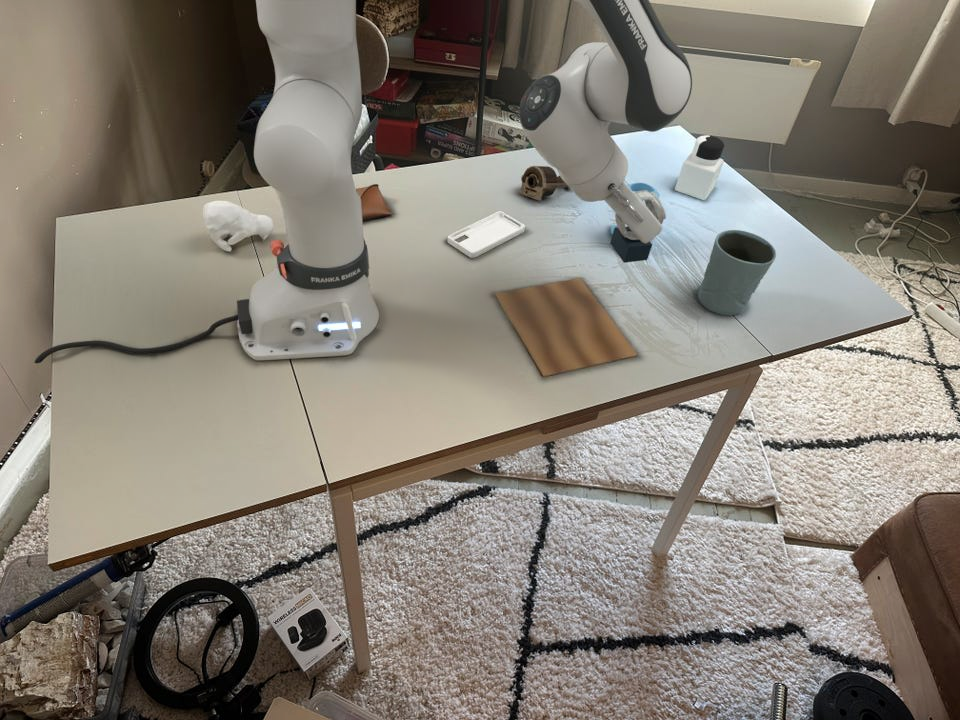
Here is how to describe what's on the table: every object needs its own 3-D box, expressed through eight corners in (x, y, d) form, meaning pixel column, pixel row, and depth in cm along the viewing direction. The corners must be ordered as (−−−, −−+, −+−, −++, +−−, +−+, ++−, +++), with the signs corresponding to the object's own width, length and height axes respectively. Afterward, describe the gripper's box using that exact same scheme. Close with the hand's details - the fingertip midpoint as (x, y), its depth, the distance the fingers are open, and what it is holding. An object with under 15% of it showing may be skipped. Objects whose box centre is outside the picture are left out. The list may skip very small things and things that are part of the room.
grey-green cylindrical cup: (683, 288, 119) (704, 233, 110) (728, 279, 122) (751, 225, 113) (715, 323, 112) (740, 267, 104) (762, 312, 115) (789, 258, 107)
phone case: (472, 259, 121) (525, 231, 129) (472, 253, 120) (526, 225, 128) (446, 241, 124) (499, 215, 132) (446, 236, 123) (500, 210, 131)
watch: (657, 258, 107) (677, 201, 99) (614, 263, 105) (631, 205, 97) (642, 239, 111) (660, 182, 103) (600, 243, 109) (615, 186, 101)
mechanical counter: (512, 160, 138) (528, 173, 130) (567, 150, 140) (586, 163, 132) (514, 192, 142) (530, 207, 134) (567, 182, 145) (586, 196, 136)
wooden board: (543, 377, 100) (543, 375, 100) (495, 295, 114) (495, 293, 113) (637, 356, 105) (637, 354, 105) (580, 279, 118) (580, 278, 118)
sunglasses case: (310, 235, 121) (300, 199, 119) (301, 234, 128) (291, 201, 125) (396, 214, 129) (388, 180, 127) (384, 214, 135) (376, 182, 133)
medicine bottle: (714, 188, 147) (732, 138, 138) (704, 201, 142) (722, 150, 134) (684, 178, 149) (700, 128, 141) (674, 190, 145) (690, 140, 136)
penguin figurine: (198, 195, 114) (268, 190, 118) (205, 236, 119) (271, 230, 124) (203, 213, 110) (275, 208, 114) (209, 255, 115) (277, 248, 120)
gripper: (649, 191, 86) (687, 242, 96) (581, 123, 99) (621, 174, 109) (612, 223, 88) (654, 270, 98) (551, 153, 101) (593, 200, 111)
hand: (636, 219), depth 103 cm, fingers closed on watch, 4 cm apart
